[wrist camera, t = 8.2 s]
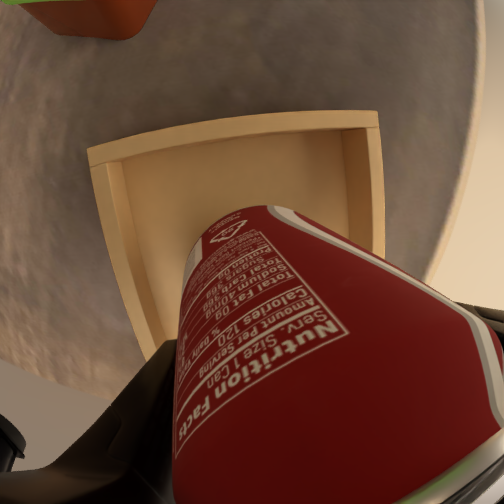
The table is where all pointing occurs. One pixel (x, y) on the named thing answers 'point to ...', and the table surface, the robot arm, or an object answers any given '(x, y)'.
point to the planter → (90, 16)
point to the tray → (228, 194)
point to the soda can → (326, 375)
